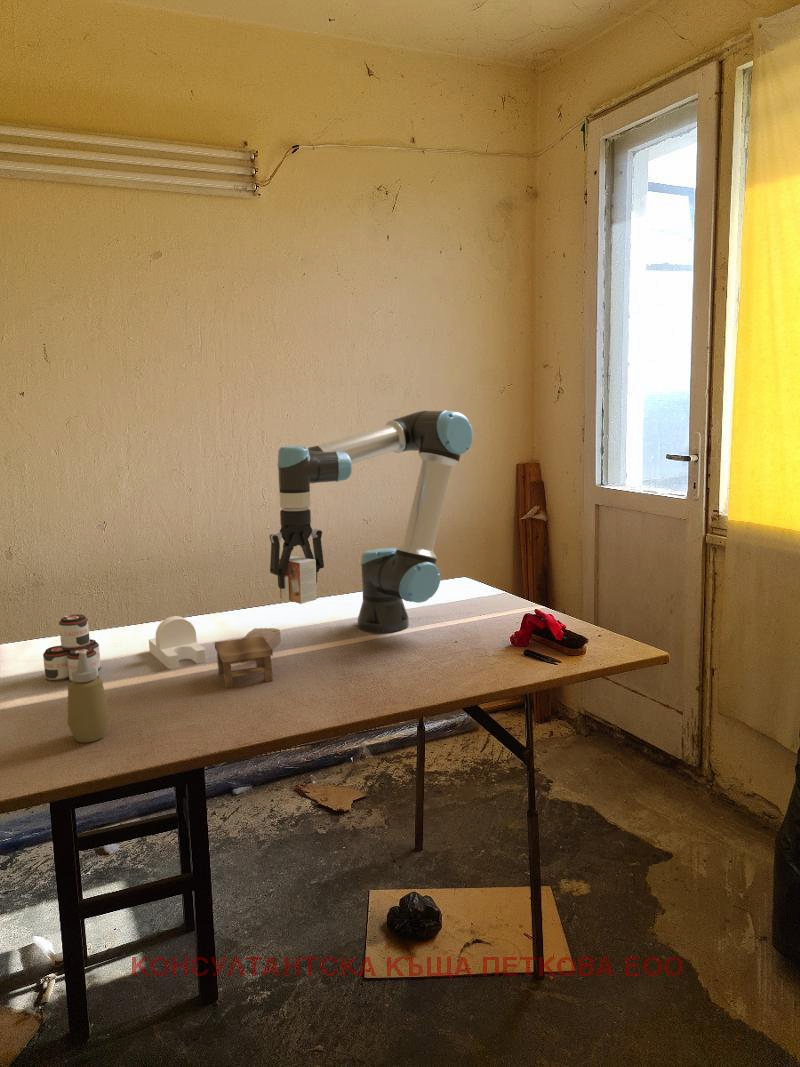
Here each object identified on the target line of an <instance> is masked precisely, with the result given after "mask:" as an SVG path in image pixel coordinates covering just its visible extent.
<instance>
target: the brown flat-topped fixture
mask: <svg viewBox="0 0 800 1067" xmlns="http://www.w3.org/2000/svg"><path fill="white" fill-rule="evenodd" d="M242 638H243V637H242ZM242 638H237V639H230V640H222V641H214V649H215V651H216V654H217V655H216V657H217V658H216V660H217V671H218V672H217V673H218V675H219V676H223V679H224V681H223V682H224V687H225V688H226V689H228V688H233V678H235V677H239V676H247V675H253V674H259V673H260V674H261V673H263V678H264V679H263V680H264V682H267V683H269V682H272V681H273V673H272V672H273V671H272V669H273V668H272V656H273V655H274V653H273V652H274V650H272V648H271V647H270V646H269V644H268V643H267V642H266V640H265V639H264V638H263V636H258V637H251V638H243V639H242ZM253 661H255V666H256V667H250V668H243V669H236V670H232V665H233V664H238V663H245V662H246V663H247V662H253Z"/></svg>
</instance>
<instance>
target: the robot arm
mask: <svg viewBox="0 0 800 1067" xmlns="http://www.w3.org/2000/svg"><path fill="white" fill-rule="evenodd" d="M473 440H474V431H473V427H472V424H471V423H470V420H469V419H468V418H467V416H465V415H464V414H463V413H461V412H458V411H453V410H421V411H416V412H413V413H409V414H407V415H403V416H400V417H398V418H395V419H390V420H389V421H387V422H386V423H385V425H383V426H379V427H376V428H373V429H369V430H366V431H365V430H364V431H362V432H358V433H356V434H353V435H352V434H351V435H349V436H345V437H342V438H338V439H334V440H331V441H328V442H324V443H321V444H317V445H314V446H310V447H307V446H305V445H287V446H282V447H280V448H278V455H277V469H278V488H279V490H278V491H279V493H278V494H279V507H280V508H281V510H280V512H279V516H280V517H279V519H280V530H279V532H278V533H275V534H269V536H268V538H269V540H270V543H271V545H270V547H271V548H270V563H269V564H270V566H269V572H270V574H272V575H275V576H277V586H278V587H277V588H279V590H280V589H281V593H282V599H281V601H283V602H286V603H288V602H290V601H289V584H288V576H286V575H285V574H286V570H287V566H288V563H289V559H290V557H291V556H292V552H293V551H294V547H297V546H299V547H300V548H301V550H302V552H303V555H304V558H308V559H315V560H316V584H317V583H318V573H319V571H320V569H323V568H325V564H324V563H325V562H324V555H323V554H324V553H323V545H322V536H323V531H322V530H320V529H317V528H315V529H314V528H312V526H311V523H312V519H311V518H312V517H311V515H312V514H311V512H312V511H311V509H310V507H311V494H310V493H311V492H310V491H311V489H310V488H311V485H310V484H316V483H317V484H318V483H330V482H331V483H333V482H336V483H339V482H340V481H346V480H348V479H349V478H350V477H351V475H352V472H353V464H355V463H359V462H361V461H365V460H368V459H369V460H370V459H371V458H375V457H378V456H381V455H385V454H387V453H391V452H393V453H396V454H399V453H403V452H409V451H410V452H411V451H412V452H413V451H415V452H416V451H418V456H419V457H420V459H421V466H420V468H419V469H420V470H419V474H418V477H417V483H416V487H415V492H414V496H413V500H412V505H411V510H410V514H409V517H408V522H407V524H406V525H407V526H406V531H405V535H404V539H403V543H402V545H400V546H399V547H384V548H377V549H369V550H366V551H364V552H363V553H362V555H361V563H360V566H361V582H362V584H361V585H362V586H361V587H362V588H361V589H362V602H361V605H360V609H359V613H358V616H357V627H358V629H359V630H362V631H365V632H369V633H378V634H379V633H380V634H381V633H393V632H398V631H401V630H402V631H403V630H405V629H406V628H408V627H409V625H410V622H409V620H410V619H409V616H408V612H407V609H406V606H405V603H404V601H405V602H410V603H417V604H420V603H425V602H427V601H428V600H430V598H433V596H434V595H435V594H436V592H438V590H439V587H440V585H441V573H440V571H439V570H440V569H439V568H438V567H437V566H436V563H437V558H438V557H437V556H436V554H435V552H434V549H435V543H436V539H437V535H438V531H439V527H440V522H441V517H442V513H443V508H444V504H445V500H446V495H447V493H448V492H447V491H448V488H449V482H450V478H451V474H452V469H453V468H454V467H455V466H456V465H458V464H459V463H460V459H461V455H462V454H464V453H467V451H468V450H470V448H471V446H472V445H473ZM310 537H311V538H312V546H313V547H312V548H313V552H312V549H311V544H310V541H309V538H310ZM281 538H282V539H283V541H284V542H283V544H282V548H283V549H282V552H281V551H280V549H281V546H280V545H281V543H280V542H282V541H281ZM280 552H281V556H280ZM279 559H280V562H279ZM403 600H404V601H403Z"/></svg>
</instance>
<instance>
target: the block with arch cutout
mask: <svg viewBox="0 0 800 1067" xmlns="http://www.w3.org/2000/svg"><path fill="white" fill-rule="evenodd" d="M197 640H198V639H197V631H196V629H195V626H194V625H193V624H192V623H191V622H190V621H189V620H187V619H186V618H184V617H182V616H179V615H174V616H173V615H171V616H170V617H166V618H165V619H163V620H162V621H161V622H160V623H159V625H158V626H157V628H156V631H155V637H154V638H149V639H148V648H149V652H150V654H151V655H153V656H154V657H155V658H156V659H157V660H158V661H159V662H160V663H161V664H163V665H164V666H165V668H167V669H168V670H175V669H179V668H180V665H179V664H180V663H179V661H181V660H192V662H195V664H197V665H198V664H199V665H200V664H203V663H207V652H206V651H207V650H206V648H205V647H204V646H202V645H201V644H200V643H198V642H197Z"/></svg>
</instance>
